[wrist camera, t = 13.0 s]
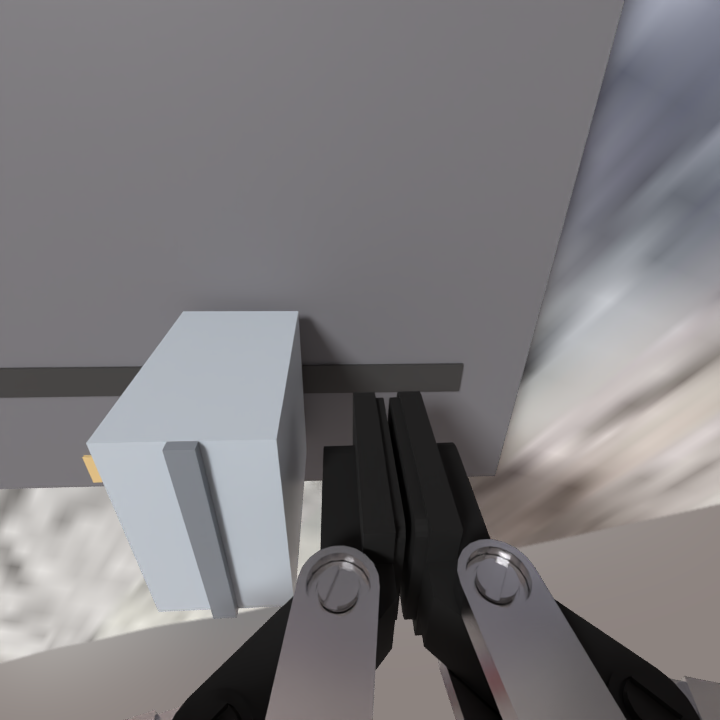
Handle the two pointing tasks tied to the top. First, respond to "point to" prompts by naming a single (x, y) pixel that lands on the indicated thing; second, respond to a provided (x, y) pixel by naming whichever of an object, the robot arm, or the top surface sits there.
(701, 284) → the top surface
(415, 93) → the fader console
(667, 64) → the top surface
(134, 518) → the grey fader
